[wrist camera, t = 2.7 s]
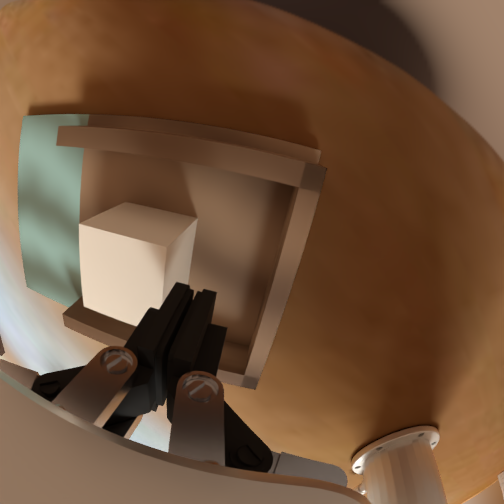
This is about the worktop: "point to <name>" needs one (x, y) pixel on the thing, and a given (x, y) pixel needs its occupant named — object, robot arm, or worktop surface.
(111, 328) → the walnut cubby
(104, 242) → the cream block
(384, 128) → the worktop surface
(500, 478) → the skincare box
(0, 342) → the kitchen knife
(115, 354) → the robot arm
